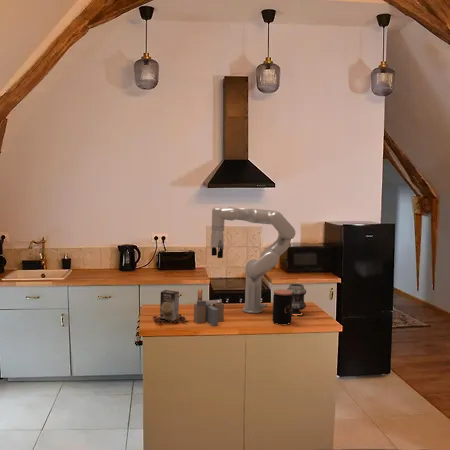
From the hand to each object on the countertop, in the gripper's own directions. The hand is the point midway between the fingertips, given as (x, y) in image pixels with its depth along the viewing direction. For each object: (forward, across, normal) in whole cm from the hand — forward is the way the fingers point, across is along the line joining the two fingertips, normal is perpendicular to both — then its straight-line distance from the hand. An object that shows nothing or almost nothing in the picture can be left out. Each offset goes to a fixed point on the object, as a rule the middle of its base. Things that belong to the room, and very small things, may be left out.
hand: (217, 256), depth 306 cm
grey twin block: (+33, +19, -12) cm, 40 cm away
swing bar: (+23, +19, -11) cm, 32 cm away
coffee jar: (+34, +34, +27) cm, 55 cm away
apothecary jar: (+34, +20, +44) cm, 59 cm away
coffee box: (+34, +10, -32) cm, 47 cm away
